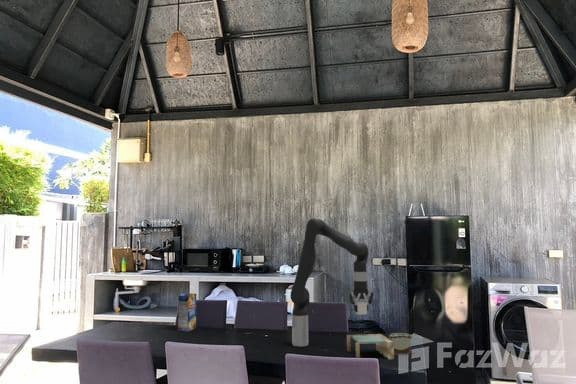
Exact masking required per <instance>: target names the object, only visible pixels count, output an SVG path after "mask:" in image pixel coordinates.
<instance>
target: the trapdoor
mask: <svg viewBox="0 0 576 384" xmlns="http://www.w3.org/2000/svg"><path fill="white" fill-rule="evenodd" d="M369 335H370V334H369ZM351 339H353V340H354V341H355V342H359V345H360V344H361V345H362V344H363V345H364V344H366V345H367V344H376V343H385V340H383V339H382V338H380V337H379V336H377V335H370V336H352V338H351Z"/></svg>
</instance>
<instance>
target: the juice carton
mask: <svg viewBox="0 0 576 384" xmlns="http://www.w3.org/2000/svg"><path fill="white" fill-rule="evenodd" d="M177 307H178V308H177V309H178V310H177V312H178V314H177V315H178V316H177V317H178V318H177V332H187V333H188V332H190V331H193V330H195V329H196V327H197V293H188V292H187V293H183V294H179V295H178V306H177Z"/></svg>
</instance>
